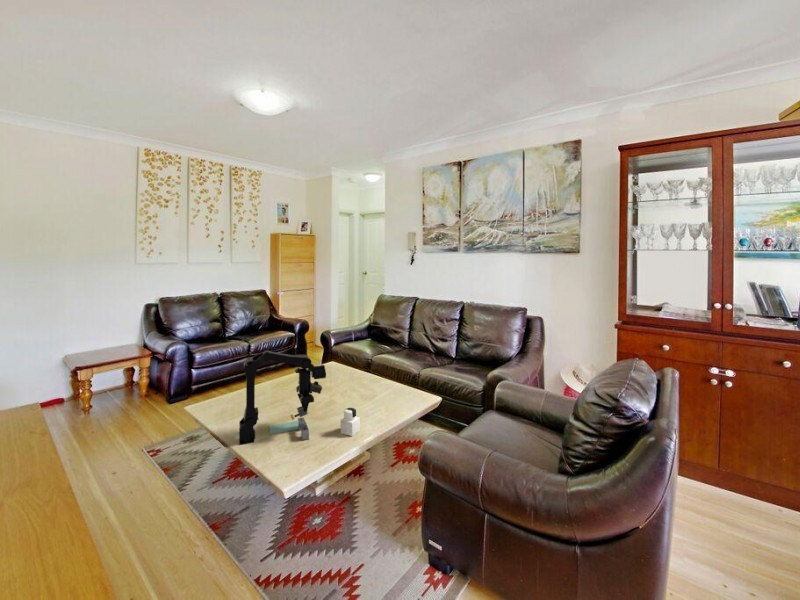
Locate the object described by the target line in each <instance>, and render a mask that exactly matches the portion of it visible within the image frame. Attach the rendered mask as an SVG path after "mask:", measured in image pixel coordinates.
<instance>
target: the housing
mask: <svg viewBox="0 0 800 600" xmlns="http://www.w3.org/2000/svg"><path fill="white" fill-rule="evenodd" d="M297 422H298V428H299V429H298V432H301V433H300V435H301V440H302V441H308V440H310V429H309V427H308V425H307V422H306V420H305V416H302V417H298V418H297Z"/></svg>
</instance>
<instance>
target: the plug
mask: <svg viewBox="0 0 800 600" xmlns="http://www.w3.org/2000/svg"><path fill="white" fill-rule="evenodd" d="M296 409H297V413H296V414H295V415H294V414H293V413H292V414H290V418H291V420H292V421H295V418H297V417H299V418H303V417H305V416H306V415H308V413H309V412H308V411H309V409H307V412H304V409H303V407H302V405H301V406H299V407H296Z"/></svg>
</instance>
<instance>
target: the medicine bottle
mask: <svg viewBox="0 0 800 600" xmlns="http://www.w3.org/2000/svg"><path fill="white" fill-rule="evenodd" d="M360 419H361V417H359V416H357V410H356V408H354V407H347V408H345V409H344V411H343V418H340V434H342V435H346V436H349V437H353V436H355V435H356V434H357V433H359V432H360V430H361V420H360Z"/></svg>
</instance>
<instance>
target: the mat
mask: <svg viewBox="0 0 800 600" xmlns="http://www.w3.org/2000/svg"><path fill="white" fill-rule="evenodd" d="M268 426H269V434H270V435H277V434H280V433H286V432H287V433H288V432H291V431H292V432H293V431H299V428H298V420H292V421H288V422H283V423H276V424H272V425H268Z"/></svg>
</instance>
